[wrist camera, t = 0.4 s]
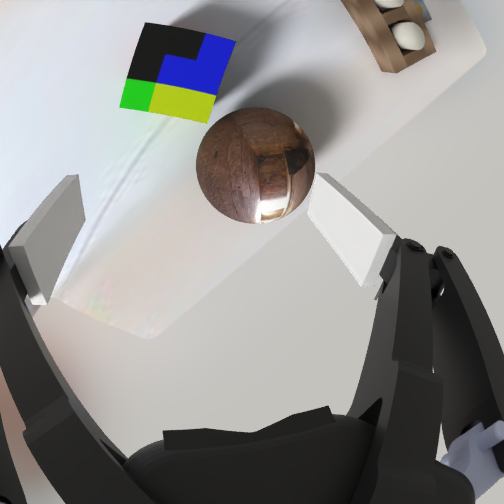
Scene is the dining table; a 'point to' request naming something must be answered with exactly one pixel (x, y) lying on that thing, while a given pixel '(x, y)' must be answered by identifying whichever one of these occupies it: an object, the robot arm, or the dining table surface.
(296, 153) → the wooden sphere
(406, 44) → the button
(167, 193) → the dining table surface
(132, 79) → the puzzle toy
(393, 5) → the middle button
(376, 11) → the button board
